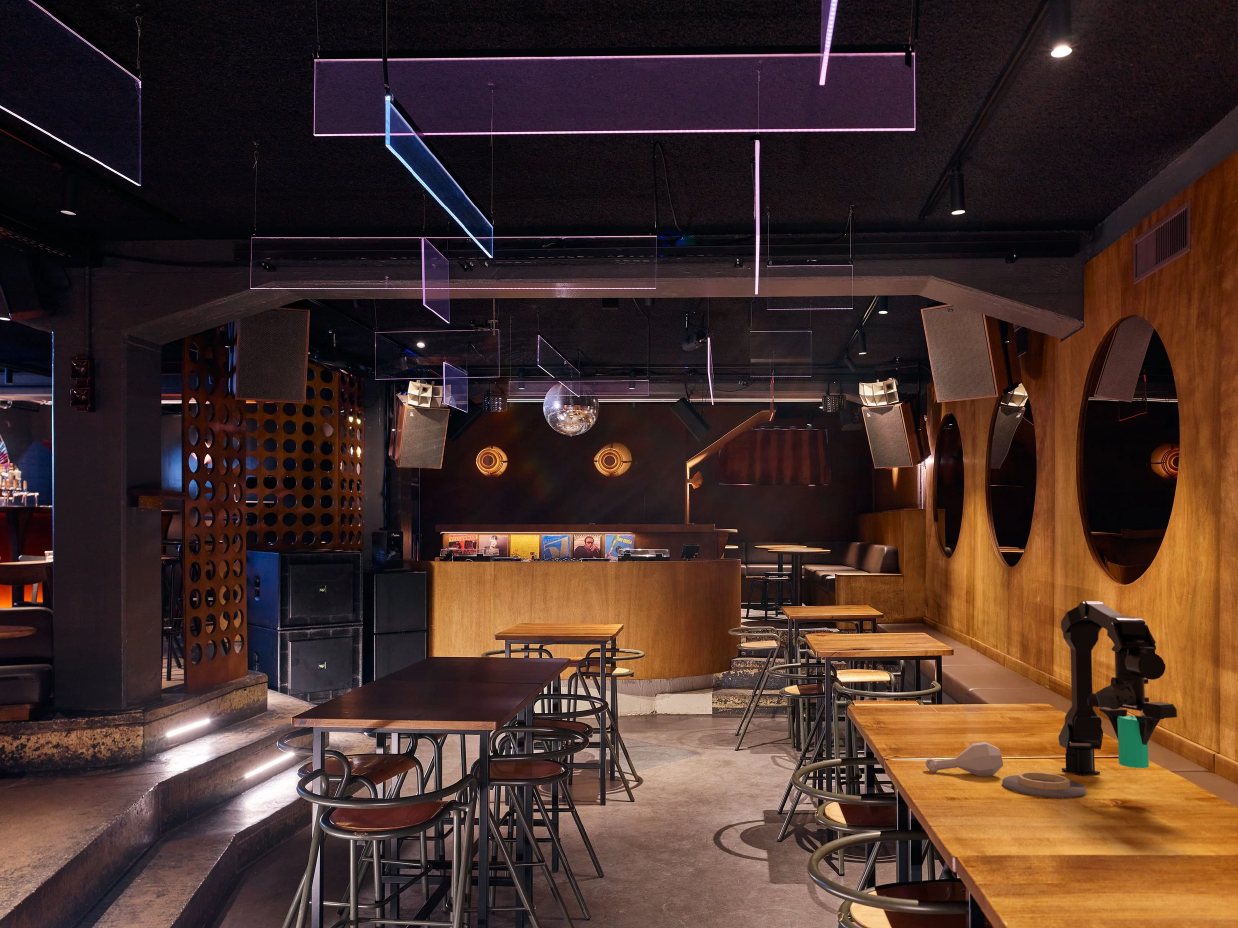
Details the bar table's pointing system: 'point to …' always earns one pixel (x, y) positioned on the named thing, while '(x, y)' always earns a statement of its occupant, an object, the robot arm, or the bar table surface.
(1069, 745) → the robot arm
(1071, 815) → the bar table surface
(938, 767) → the chicken leg
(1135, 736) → the candle
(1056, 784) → the candle holder
